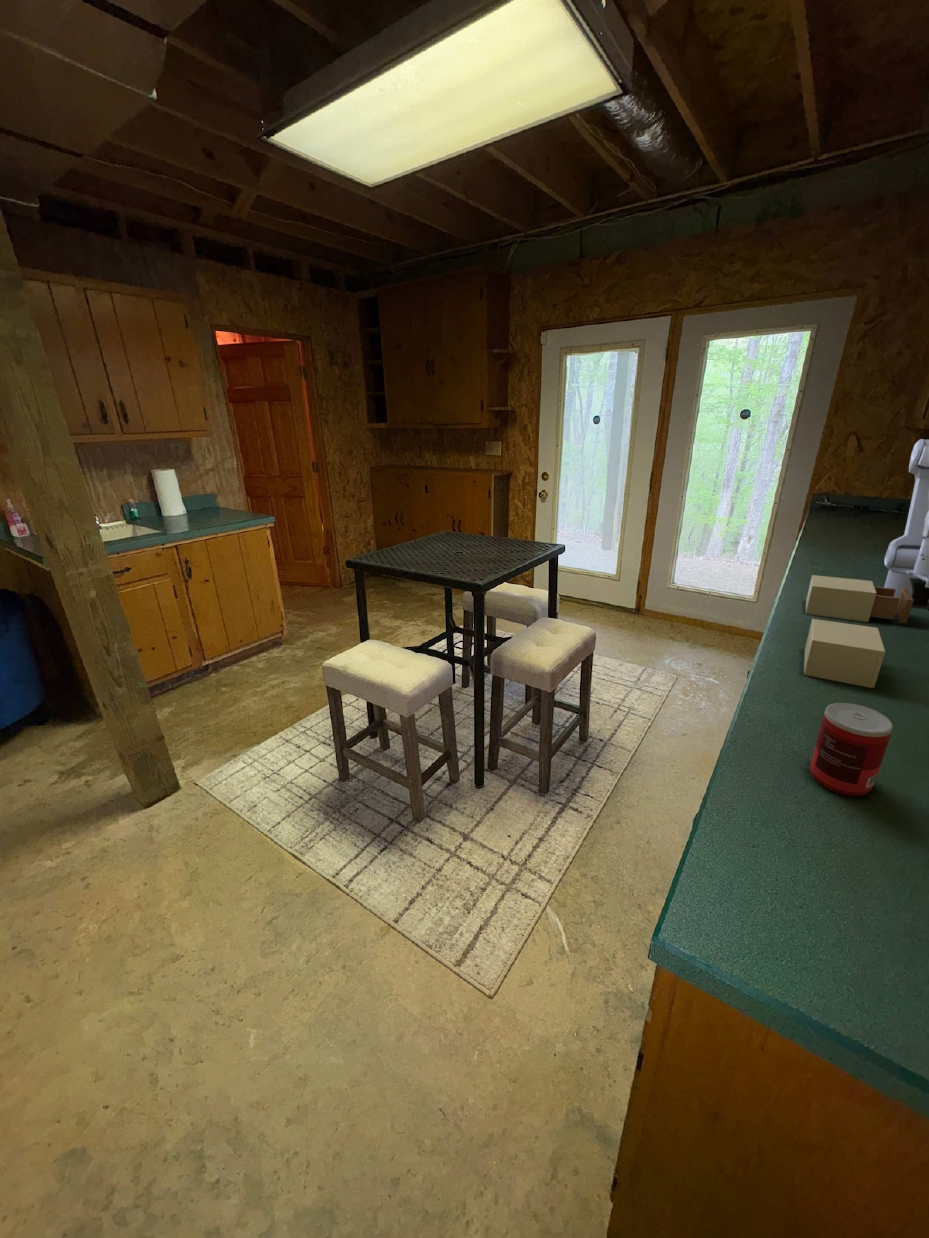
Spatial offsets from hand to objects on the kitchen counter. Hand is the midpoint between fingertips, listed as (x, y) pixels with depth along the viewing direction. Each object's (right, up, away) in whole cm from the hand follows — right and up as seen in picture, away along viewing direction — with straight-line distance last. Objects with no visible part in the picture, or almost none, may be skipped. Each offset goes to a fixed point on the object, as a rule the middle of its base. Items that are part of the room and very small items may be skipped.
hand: (917, 607), depth 124 cm
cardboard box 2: (-36, -14, -20) cm, 44 cm away
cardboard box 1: (-13, -1, +10) cm, 17 cm away
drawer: (-5, -2, +4) cm, 7 cm away
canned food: (-60, -27, -52) cm, 84 cm away
